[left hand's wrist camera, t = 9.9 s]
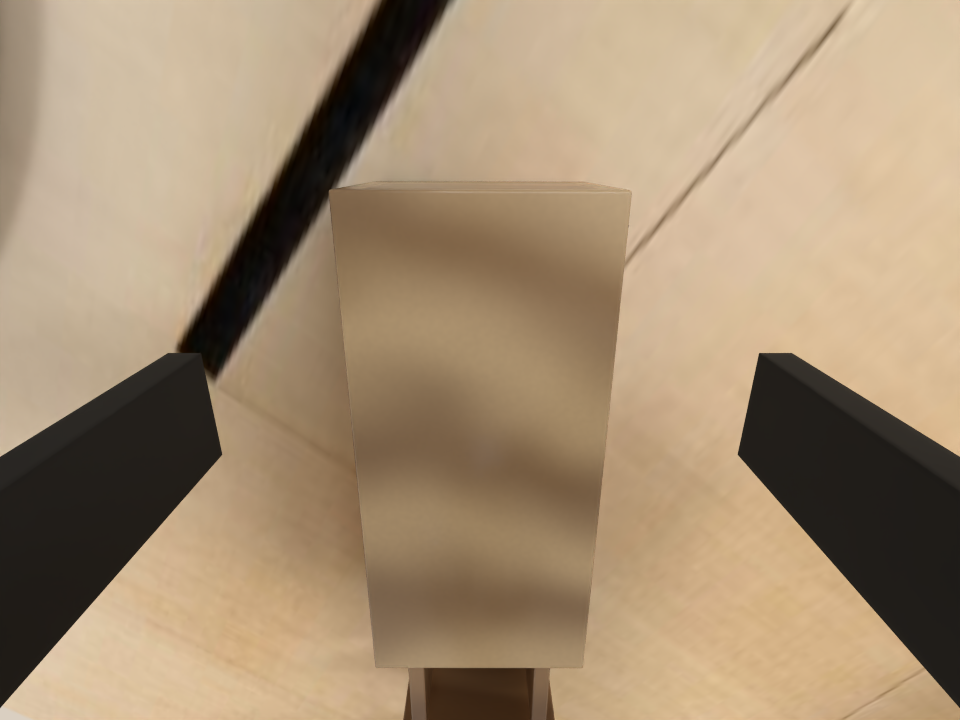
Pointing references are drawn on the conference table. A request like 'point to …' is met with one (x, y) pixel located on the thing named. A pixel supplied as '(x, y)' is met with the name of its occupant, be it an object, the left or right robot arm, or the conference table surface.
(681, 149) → the conference table surface
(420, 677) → the drawer
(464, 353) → the cabinet
